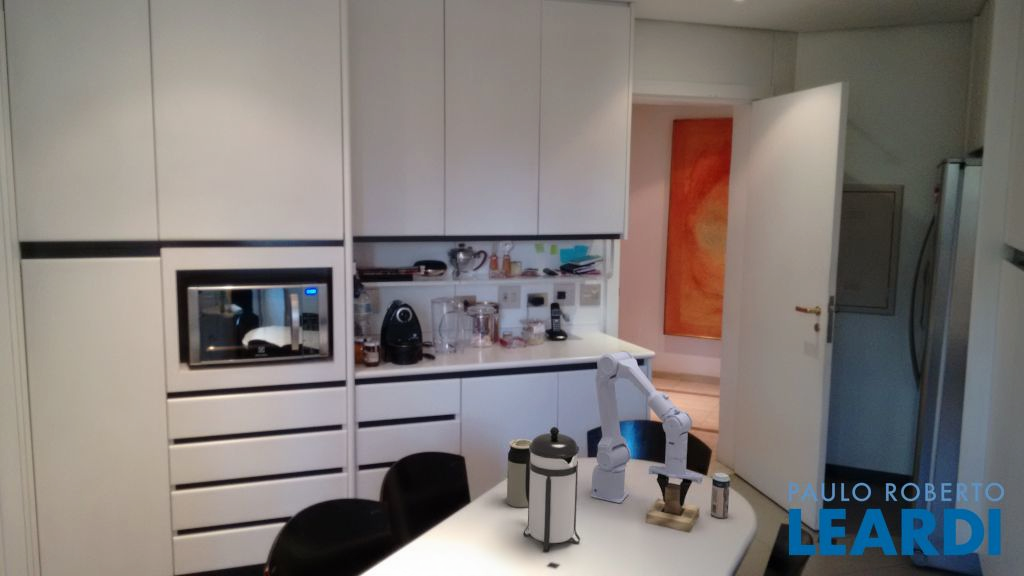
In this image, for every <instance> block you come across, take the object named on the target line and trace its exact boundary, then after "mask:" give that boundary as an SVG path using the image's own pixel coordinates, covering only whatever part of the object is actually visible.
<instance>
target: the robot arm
mask: <svg viewBox="0 0 1024 576" xmlns="http://www.w3.org/2000/svg"><path fill="white" fill-rule="evenodd" d="M596 364H597V365H596V366H597V371H596V373H595V387H596V393H597V394H596V395H597V403H598V412H599V419H600V428H601V435H602V436H601V439H600V440H599V442H598V444H597V454H596V462H597V463H596V465H594V467H593V470H592V474H591V475H592V476H591V494H590V498H595V499H599V500H604V501H608V502H614V503H618V504H621V503H622V502H623V501H624V500H625V499H626V498H627V497H628V496H629V492H628V491H625V481H626V477H625V476H626V468H627V464H628V463H629V462H630V459H631V456H632V455H631V450H630V448H629V445H628V442H627V439H626V438H625V437H624V436H622V434H621V425H620V418H619V417H620V416H619V410H618V403H617V402H618V401H617V393H616V386H615V384H616V382H617V380H618V379H627V380H629V381H630V382H631V383H632V384H633V386H635V387H636V389H638V391H640V393H641V394H643V396H644V397H645V398H646V399H647V406H648V407H649V408H650V410H652V412H653V413H654V414H655V416H656V417H657V418H658V419H659V420H660V421H661V423H662V428H663V432H665V455H664V456H665V459H664V460H665V461H664V466H663V465H662V466H659V465H652V464H651V465H650V466H649V467H648V475H656V476H657V478H656V482H657V484H658V486H659V488H660V492H661V494H662V499H663V502H665V487H666V486H667V485H668V483H670V479H675V480H676V479H678V480H682V481H681V482H680V483H679V485H680V487H681V497H680V506H683V505H684V504H685V500H686V497H687V494H688V491H689V489H690V487H691V485H692V483H693V482H694V483H696V484H698V485H701V484H702V482H703V474H700V473H695V472H692V471H690V470H687V454H688V439H689V438H688V436H689V435H688V434H689V433H688V432H689V431H691V429H692V427H693V421H692V418H691V416H690V414H689V413H688V412H687V411H683V410H681V409H680V408H679V407H677V406H676V405H675V403H674V402H672V400H671V399H670V396H669V395H668V394H667V393H665V392H663V391H660V390H657V389H656V388H655V386H654V385H653V383H652V382H650V380H649V378H647V376H646V375H645V374H644V372H643V371H642V369H641V368H640V367H639V365H638V361H637V359H636V358H635V357H633V355H632V354H631V353H630V352H629V351H627V350H621V351H617V352H615V353H614V352H613V353H607V354H604V355H602V356H601V357H600V358H599V359H598V360H597V361H596Z"/></svg>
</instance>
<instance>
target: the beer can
mask: <svg viewBox="0 0 1024 576" xmlns="http://www.w3.org/2000/svg"><path fill="white" fill-rule="evenodd" d="M730 483H731V478H730V476H729V474H727V473H725V472H722V471H721V472H720V471H719V472H717V471H716V472H714V473H713V475H712V479H711V500H710V501H711V502H710V515H712V516H713V517H715V518H717V519H724V518H726V517H728V516H729V504H730V503H729V498H730V487H731V486H730Z"/></svg>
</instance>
